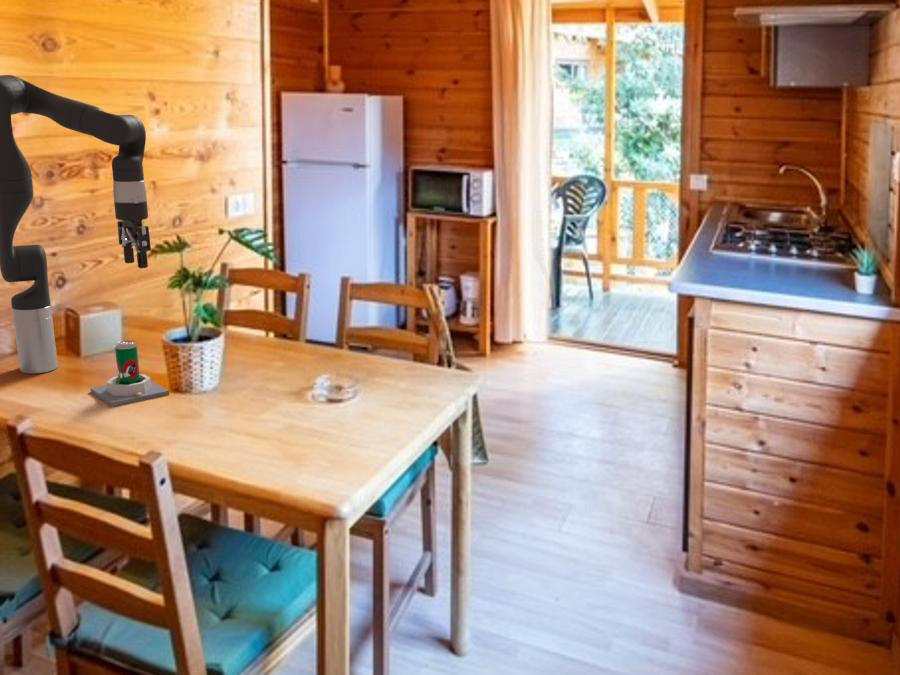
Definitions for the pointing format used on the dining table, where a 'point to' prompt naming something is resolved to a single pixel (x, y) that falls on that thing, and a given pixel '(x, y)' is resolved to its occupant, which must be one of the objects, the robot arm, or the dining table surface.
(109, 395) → the grey can holder
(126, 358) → the soda can
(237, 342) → the dining table surface
